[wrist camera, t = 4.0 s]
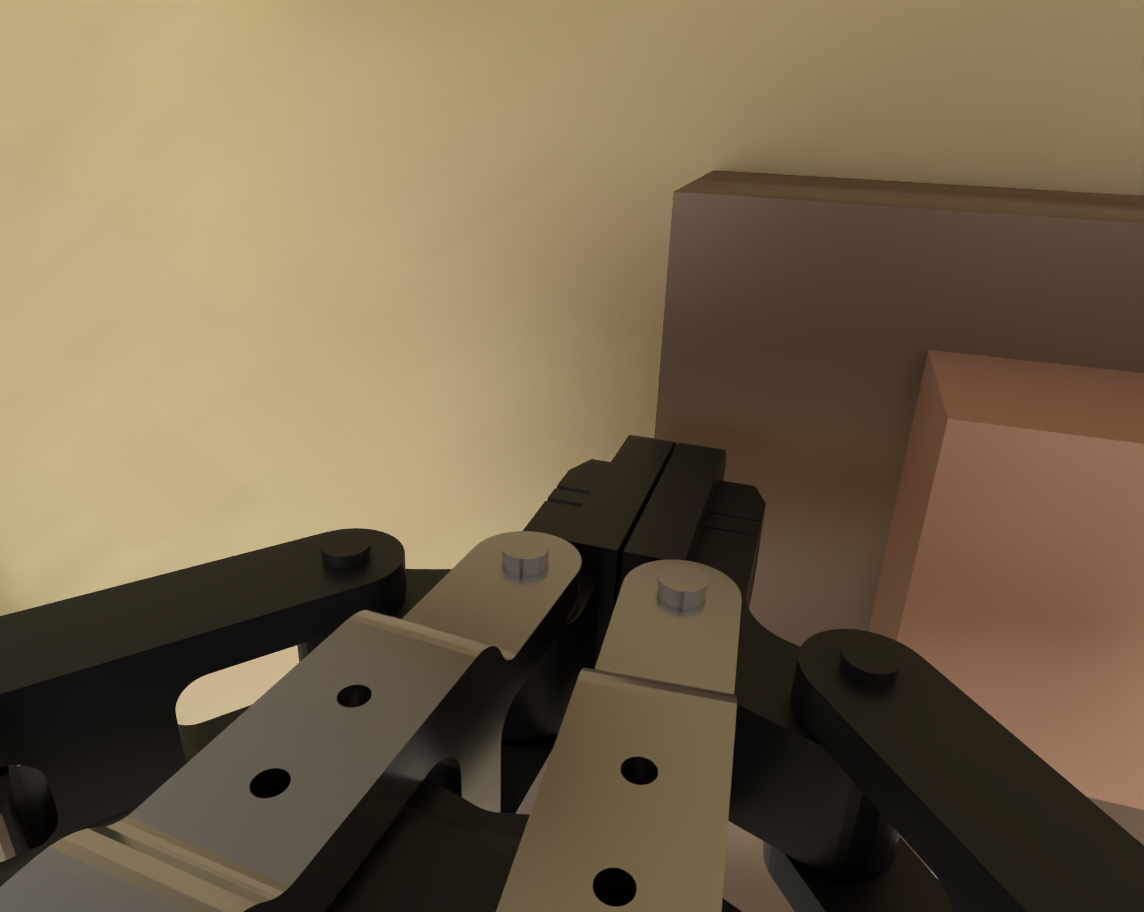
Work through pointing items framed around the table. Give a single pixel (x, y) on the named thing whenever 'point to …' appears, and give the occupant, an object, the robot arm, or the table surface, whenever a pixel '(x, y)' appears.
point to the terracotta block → (1029, 556)
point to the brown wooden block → (863, 359)
